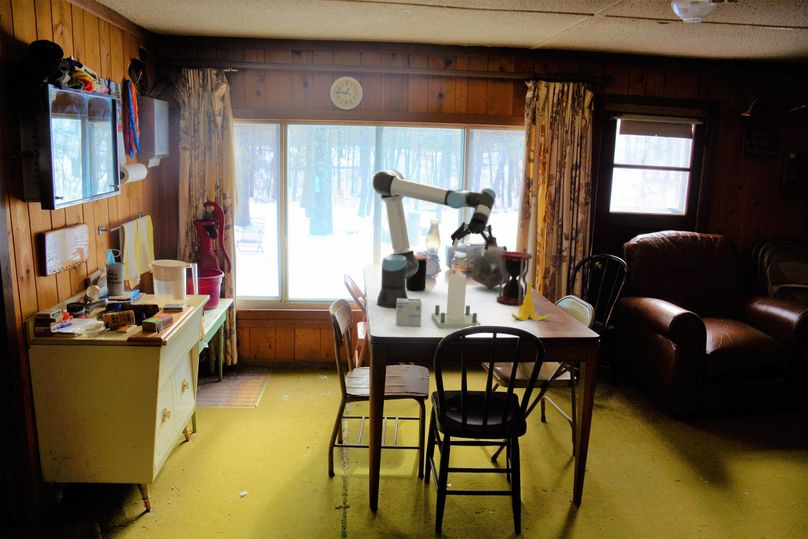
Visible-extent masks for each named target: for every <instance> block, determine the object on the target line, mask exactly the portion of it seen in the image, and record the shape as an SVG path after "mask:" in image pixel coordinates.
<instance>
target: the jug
mask: <svg viewBox="0 0 808 539" xmlns="http://www.w3.org/2000/svg"><path fill="white" fill-rule="evenodd" d="M487 238H488V239H489V240H491V239H490V236H489V234H488V235H487ZM493 240H494V244H490V245H489V247H488V250H485V253H484V256H483V257H482V256H481V250H482V247H481V248H480V249H479V250H478V251H477V253H476V254H475V255H474V258H473V262H472V266H471V278H472V280H473V281H474V282H477V283H478V284H481V285H483V286H484V287H486V288H488V289H492V288H495V287H497V286H500V283H501V282H502V280H503V275H502V274H501V259H502V257H500V252H507V247H506V246H505V245H503V247H500V246H498V243H497V237H496V236H493ZM504 263H505V259H504V262H503V273H504V274H505V278H506V279H505V282H504V283H503V285H505V284H506V281H507V278H508V272H507V271H506V269H505V265H504Z"/></svg>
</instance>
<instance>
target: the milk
mask: <svg viewBox="0 0 808 539" xmlns="http://www.w3.org/2000/svg"><path fill="white" fill-rule="evenodd" d="M454 271H455V272H454V273H452V274H450V275H449V276H448V281H447V282H448V285H447V286H448V288H447V302H446V304H447V305H446V306H447V307H446V313H447V319H452V320H458V321H459V320H461V319H463V318H464V314H465V310H466V292H467V291H466V288H467V275H466V274H465V273H463V271H461V267H458V268H456V269H455V270H454Z"/></svg>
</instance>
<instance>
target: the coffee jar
mask: <svg viewBox="0 0 808 539" xmlns="http://www.w3.org/2000/svg"><path fill="white" fill-rule="evenodd" d="M414 256H415V257H416V258H417V260H418V264H419V266H418V270H417V272H416V273H415V274H414V275H413V276H412V277H410V278H407V279H406V285H405V289H407V290H408V291H411V292H424V290H425V289H426V283H427V282H426V281H427V264H428V263H427V259H428V257H427V256H424V255H418V254H414ZM407 290H406V291H407Z"/></svg>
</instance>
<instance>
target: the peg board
mask: <svg viewBox="0 0 808 539" xmlns="http://www.w3.org/2000/svg"><path fill="white" fill-rule="evenodd" d="M434 310H435V311H434V312H431V319H432V321H433V322H434V324H435V325H436V327H437V328H438V329H466V328H465V327H469V326H476V325H480V326H481V322H479V321H478V313H477V312H473V313H470V311H471V306H470V305H465V312H464V318H463V319H461V320H459V321H458V320H452V319H447V312H440V304H439V305H438V304H436V305H435V309H434Z"/></svg>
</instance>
